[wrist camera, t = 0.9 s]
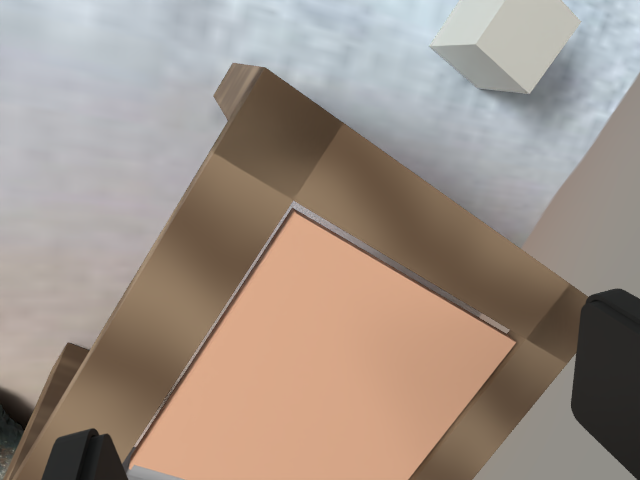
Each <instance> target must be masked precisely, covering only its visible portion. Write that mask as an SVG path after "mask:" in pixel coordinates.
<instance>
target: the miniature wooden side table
mask: <svg viewBox="0 0 640 480" xmlns="http://www.w3.org/2000/svg"><path fill="white" fill-rule="evenodd" d="M214 98H215V99H216V101H217V103H218V105H219V106H220V108H221V110H222V111H223V113H224V115H225V116H226V118H227V120H228V122H227V124H226V125H225V127H224V129H223V130H222V132H221V134H220V135H219V137H218V139H217V140H216V142H215V144H214V145H213V147H212V149H211V150H210V152H209V154H208V155H207V157H206V159H205V160H204V162H203V164H202V165H201V167H200V169H199V170H198V172H197V173H196V175H195V177H194V178H193V180H192V182H191V183H190V185H189V187H188V188H187V190H186V192H185V193H184V195H183V197H182V198H181V200H180V202H179V203H178V205H177V207H176V208H175V210H174V212H173V213H172V215H171V217H170V218H169V220H168V222H167V223H166V225H165V227H164V228H163V230H162V232H161V233H160V235H159V237H158V238H157V240H156V242H155V243H154V245H153V247H152V248H151V250H150V251H149V253H148V255H147V256H146V258H145V260H144V261H143V263H142V265H141V266H140V268H139V270H138V271H137V273H136V275H135V276H134V278H133V280H132V281H131V283H130V285H129V286H128V288H127V290H126V291H125V293H124V295H123V296H122V298H121V300H120V301H119V303H118V305H117V306H116V308H115V310H114V311H113V313H112V315H111V316H110V318H109V320H108V321H107V323H106V325H105V326H104V328H103V329H102V331H101V333H100V334H99V336H98V338H97V339H96V341H95V343H94V344H93V346H92V348H91V349H90V351H89V350H87V349H84V348H81V347H79V346H76V345H73V344H70V343H67V344H66V346H65V348H64V350H63V351H62V353H61V355H60V356H59V358H58V360H57V361H56V363H55V365H54V366H53V368H52V370H51V373H50V375H49V377H48V379H47V382H46V384H45V386H44V388H43V391H42V393H41V395H40V397H39V400H38V402H37V404H36V406H35V409H34V411H33V413H32V415H31V418H30V420H29V422H28V424H27V427H26V429H25V431H24V433H23V436H22V438H21V440H20V442H19V445H18V447H17V449H16V451H15V454H14V456H13V458H12V460H11V463H10V465H9V467H8V469H7V472H6V474H5V476H4V478H3V480H41V479H42V476H43V473H44V470H45V467H46V464H47V462H48V459H49V456H50V453H51V450H52V447H53V445H54V443H55V441H56V439H57V438H59V437H61V436H65V435H69V434H73V433H76V432H80V431H84V430H88V429H91V428H95V429H96V430H97V431H98V433H99V435H103V434H109V435H110V436H111V438H112V441H113V443H114V446H115V448H116V450H117V453H118V455H119V458H120V460H121V463H123V462H124V460H125V459H126V457H127V456H128V454H129V453H130V451H131V449H132V448H133V446H134V445H135V443H136V442H137V440H138V439H139V437H140V436H141V434H142V433H143V431H144V429H145V428H146V426H147V425H148V423H149V422H150V420H151V419H152V417H153V416H154V414H155V413H156V411H157V409H158V408H159V406H160V405H161V403H162V402H163V400H164V399H165V397H166V396H167V394H168V393H169V391H170V389H171V388H172V386H173V385H174V383H175V382H176V380H177V379H178V377H179V376H180V374H181V372H182V371H183V369H184V368H185V366H186V365H187V363H188V362H189V360H190V359H191V357H192V356H193V354H194V352H195V351H196V349H197V348H198V346H199V345H200V343H201V342H202V340H203V339H204V337H205V336H206V334H207V332H208V331H209V329H210V328H211V326H212V325H213V323H214V322H215V320H216V319H217V317H218V316H219V314H220V312H221V311H222V309H223V308H224V306H225V305H226V303H227V302H228V300H229V299H230V297H231V296H232V294H233V292H234V291H235V289H236V288H237V286H238V285H239V283H240V282H241V280H242V279H243V277H244V275H245V274H246V272H247V271H248V269H249V268H250V266H251V265H252V263H253V262H254V260H255V259H256V257H257V255H258V254H259V252H260V251H261V249H262V248H263V246H264V245H265V243H266V242H267V240H268V239H269V237H270V235H271V234H272V232H273V231H274V229H275V228H276V226H277V225H278V223H279V222H280V220H281V219H282V217H283V215H284V214H285V212H286V211H287V209H288V208H289V206H290V205H291V203H292V202H293V200H294V201H295V202H297V203H299V204H300V205H302V206H304V207H305V208H307V209H309V210H310V211H312V212H314V213H315V214H317V215H319V216H320V217H322V218H324V219H325V220H327V221H329V222H330V223H332V224H334V225H335V226H337V227H339V228H341V229H342V230H344V231H346V232H347V233H349V234H351V235H352V236H354V237H356V238H357V239H359V240H361V241H362V242H364V243H366V244H367V245H369V246H371V247H372V248H374V249H376V250H377V251H379V252H381V253H382V254H384V255H386V256H387V257H389V258H391V259H392V260H394V261H396V262H397V263H399V264H401V265H402V266H404V267H406V268H407V269H409V270H411V271H413V272H414V273H416V274H418V275H419V276H421V277H423V278H424V279H426V280H428V281H429V282H431V283H433V284H434V285H436V286H438V287H439V288H441V289H443V290H444V291H446V292H448V293H449V294H451V295H453V296H454V297H456V298H458V299H459V300H461V301H463V302H464V303H466V304H468V305H469V306H471V307H473V308H474V309H476V310H478V311H480V312H481V313H483V314H485V315H486V316H488V317H490V318H491V319H493V320H495V321H496V322H498V323H500V324H501V325H503V326H505V327H506V328H508V329H510V331H509V332H508V333H507V335H508V336H510V337H511V338H512V339H513V340H514V341H515V342H516V344H515V345H514V346H513V347H512V349H511V350H510V351H509V352H508V354H507V355H506V356H505V357H504V359H503V360H502V361H501V363H500V364H499V365H498V366H497V368H496V369H495V370H494V371H493V373H492V374H491V375H490V376H489V378H488V379H487V380H486V382H485V383H484V384H483V385H482V387H481V388H480V389H479V390H478V392H477V393H476V394H475V396H474V397H473V398H472V399H471V401H470V402H469V403H468V404H467V406H466V407H465V408H464V409H463V411H462V412H461V413H460V415H459V416H458V417H457V418H456V420H455V421H454V422H453V423H452V425H451V426H450V427H449V428H448V430H447V431H446V432H445V434H444V435H443V436H442V437H441V439H440V440H439V441H438V442H437V444H436V445H435V446H434V447H433V449H432V450H431V451H430V453H429V454H428V455H427V456H426V458H425V459H424V460H423V461H422V463H421V464H420V465H419V467H418V468H417V469H416V470H415V472H414V473H413V474H412V475H411V477H410V478H409V479H408V480H472V479H473V478H474V477H475V476H476V474H477V473H478V472H479V471H480V470H481V468H482V467H483V466H484V465H485V463H486V462H487V461H488V460H489V459H490V457H491V456H492V455H493V454H494V452H495V451H496V450H497V449H498V448H499V446H500V445H501V444H502V443H503V441H504V440H505V439H506V438H507V436H508V435H509V434H510V433H511V432H512V430H513V429H514V428H515V427H516V425H517V424H518V423H519V422H520V421H521V419H522V418H523V417H524V416H525V415H526V413H527V412H528V411H529V410H530V408H531V407H532V406H533V405H534V404H535V402H536V401H537V400H538V399H539V397H540V396H541V395H542V394H543V392H544V391H545V390H546V389H547V388H548V386H549V385H550V384H551V383H552V382H553V380H554V379H555V378H556V377H557V375H558V374H559V373H560V372H561V371H562V369H563V368H564V367H565V366H566V365H567V363H568V362H569V361H570V360H571V358H572V357H573V356H574V355H575V354H576V352H577V342H578V333H579V323H580V314H581V309H582V307H583V305H585V303H586V300H587V298H588V296H586V295H585V294H584V293H582V292H581V291H579V290H578V289H576V288H575V287H574V286H572V285H571V284H569V283H568V282H567V281H565V280H564V279H562V278H561V277H559V276H558V275H557V274H555V273H554V272H552V271H551V270H550V269H548V268H547V267H546V266H544V265H543V264H541V263H540V262H538V261H537V260H536V259H534V258H533V257H531V256H530V255H529V254H527V253H526V252H524V251H523V250H522V249H520V248H519V247H517V246H516V245H515V244H513V243H512V242H510V241H509V240H507V239H506V238H505V237H503V236H502V235H500V234H499V233H498V232H496V231H495V230H493V229H492V228H491V227H489V226H488V225H486V224H485V223H484V222H482V221H481V220H479V219H478V218H477V217H475V216H474V215H472V214H471V213H469V212H468V211H467V210H465V209H464V208H462V207H461V206H460V205H458V204H457V203H455V202H454V201H453V200H451V199H450V198H448V197H447V196H446V195H444V194H443V193H441V192H440V191H439V190H437V189H436V188H434V187H433V186H431V185H430V184H429V183H427V182H426V181H424V180H423V179H422V178H420V177H419V176H417V175H416V174H415V173H413V172H412V171H410V170H409V169H408V168H406V167H405V166H403V165H402V164H400V163H399V162H398V161H396V160H395V159H393V158H392V157H391V156H389V155H388V154H386V153H385V152H384V151H382V150H381V149H379V148H378V147H377V146H375V145H374V144H372V143H371V142H370V141H368V140H367V139H365V138H364V137H362V136H361V135H360V134H358V133H357V132H355V131H354V130H353V129H351V128H350V127H348V126H347V125H346V124H344V123H343V122H341V121H340V120H339V119H337V118H336V117H334V116H333V115H331V114H330V113H329V112H327V111H326V110H324V109H323V108H322V107H320V106H319V105H317V104H316V103H315V102H313V101H312V100H310V99H309V98H308V97H306V96H305V95H303V94H302V93H301V92H299V91H298V90H296V89H295V88H293V87H292V86H291V85H289V84H288V83H286V82H285V81H284V80H282V79H281V78H279V77H278V76H277V75H275V74H274V73H272V72H271V71H270V70H268V69H267V68H265V67H259V66H251V65H244V64H237V63H232V65H231V67H230V68H229V70H228V72H227V74H226V75H225V77H224V79H223V80H222V82H221V84H220V85H219V87H218V89H217V90H216V92H215V94H214Z"/></svg>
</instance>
